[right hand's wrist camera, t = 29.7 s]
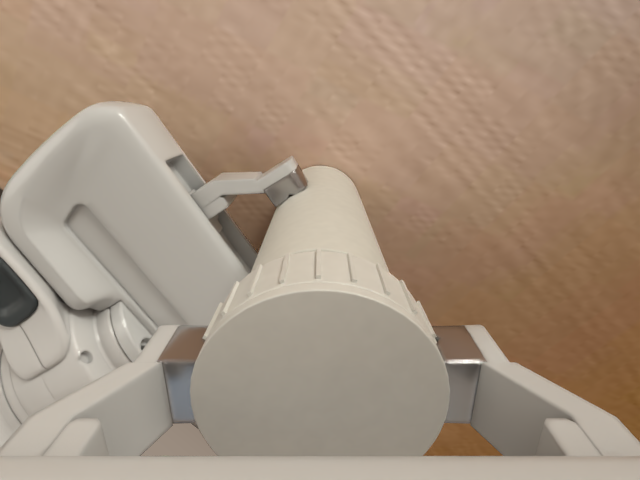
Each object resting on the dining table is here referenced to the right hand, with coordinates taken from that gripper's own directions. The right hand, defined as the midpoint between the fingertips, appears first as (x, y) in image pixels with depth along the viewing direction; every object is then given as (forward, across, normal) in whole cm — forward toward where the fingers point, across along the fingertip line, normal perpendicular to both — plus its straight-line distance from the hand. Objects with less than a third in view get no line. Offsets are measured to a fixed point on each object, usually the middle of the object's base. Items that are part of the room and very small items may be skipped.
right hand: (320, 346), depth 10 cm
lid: (-2, 0, 0) cm, 2 cm away
